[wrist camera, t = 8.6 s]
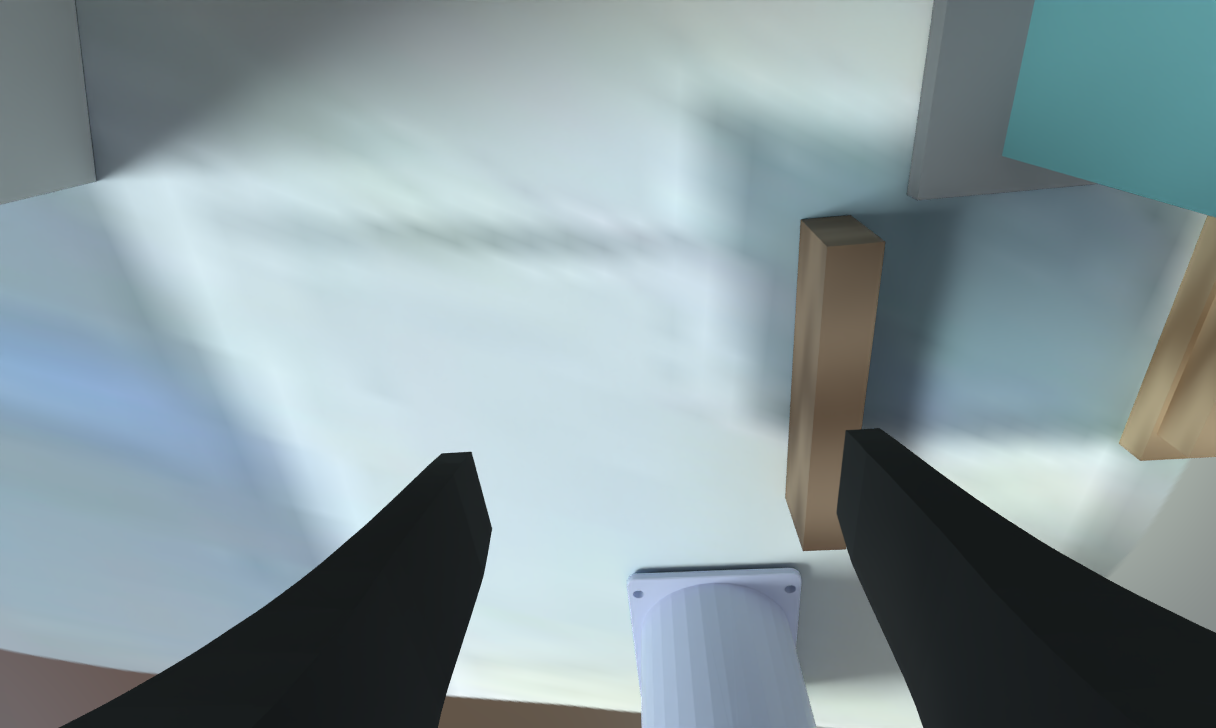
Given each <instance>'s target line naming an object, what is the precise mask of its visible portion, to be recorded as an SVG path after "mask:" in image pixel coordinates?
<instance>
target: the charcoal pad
mask: <svg viewBox="0 0 1216 728" xmlns="http://www.w3.org/2000/svg"><path fill="white" fill-rule="evenodd" d="M1034 2H1035V0H934V5H933V12H932V19H931V26H930V33H929V40H928V48H927V55H926V62H925V69H924V76H923V83H922V90H921V97H920V104H919V111H918V119H917V126H916V133H915V140H914V147H913V154H912V161H911V168H910V175H909V183H908V190H907V195H908V196H910V197H912V198H914V199H916V200H928V199H939V198H950V197H961V196H972V195H983V194H994V193H1005V192H1016V191H1027V190H1038V189H1049V188H1060V187H1071V186H1082V185H1093V184H1098V183H1094V182H1091V181H1087V180H1084V179H1081V178H1077V177H1074V176H1070V175H1067V174H1063V173H1060V172H1056V171H1053V170H1049V169H1046V168H1042V167H1039V166H1035V165H1032V164H1028V163H1025V162H1021V161H1018V160H1014V159H1011V158H1007V157H1004V156H1002V153H1003V148H1004V144H1005V139H1006V134H1007V129H1008V125H1009V120H1010V115H1011V110H1012V106H1013V101H1014V96H1015V91H1016V87H1017V82H1018V77H1019V73H1020V68H1021V63H1022V58H1023V54H1024V49H1025V44H1026V39H1027V35H1028V30H1029V25H1030V21H1031V16H1032V11H1033V6H1034Z"/></svg>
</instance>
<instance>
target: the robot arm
mask: <svg viewBox="0 0 1216 728" xmlns="http://www.w3.org/2000/svg"><path fill="white" fill-rule="evenodd" d="M836 514H837V517H838V520H839V524H840V527H841V531H842V534H843V537H844V541H845V544H846V547H847V550H848V553H849V556H850V559H851V562H852V564H853V567H854V569H855V571H856V574H857V576H858V578H859V580H860V582H861V585H862V587H863V589H864V591H865V594H866V596H867V598H868V600H869V602H870V605H871V607H872V609H873V611H874V613H875V615H876V618H877V620H878V622H879V624H880V626H881V628H882V631H883V633H884V635H885V637H886V639H887V641H888V644H889V646H890V648H891V650H892V652H893V655H894V657H895V659H896V661H897V663H898V665H899V668H900V670H901V672H902V674H903V676H904V679H905V681H906V683H907V686H908V688H909V691H910V693H911V696H912V698H913V700H914V703H915V705H916V708H917V711H918V714H919V717H920V720H921V722H922V725H923V728H1216V633H1215V632H1213V631H1211V630H1208V629H1206V628H1204V627H1202V626H1199V625H1198V624H1196V623H1193V622H1191V621H1189V620H1187V619H1185V618H1183V617H1181V616H1179V615H1177V614H1175V613H1173V612H1171V611H1169V610H1167V609H1165V608H1163V607H1161V606H1158V605H1157V604H1155V603H1153V602H1151V601H1148V600H1147V599H1145V598H1142V597H1140V596H1138V595H1137V594H1135V593H1133V592H1131V591H1129V590H1127V589H1125V588H1123V587H1121V586H1119V585H1117V584H1115V583H1114V582H1112V581H1110V580H1108V579H1106V578H1104V577H1103V576H1101V575H1099V574H1097V573H1095V572H1094V571H1092V570H1090V569H1088V568H1087V567H1085V566H1083V565H1081V564H1079V563H1078V562H1076V561H1074V560H1072V559H1070V558H1069V557H1067V556H1065V555H1063V554H1062V553H1060V552H1058V551H1057V550H1055V549H1053V548H1051V547H1050V546H1048V545H1046V544H1045V543H1043V542H1041V541H1040V540H1038V539H1037V538H1035V537H1033V536H1032V535H1030V534H1029V533H1027V532H1026V531H1024V530H1023V529H1021V528H1019V527H1018V526H1016V525H1015V524H1013V523H1012V522H1010V521H1008V520H1007V519H1005V518H1004V517H1002V516H1001V515H999V514H998V513H996V512H995V511H993V510H992V509H990V508H989V507H987V506H986V505H984V504H983V503H981V502H980V501H979V500H977V499H976V498H974V497H973V496H971V495H970V494H969V493H967V492H966V491H964V490H963V489H961V488H960V487H959V486H957V485H956V484H954V483H953V482H952V481H950V480H949V479H948V478H946V477H945V476H943V475H942V474H941V473H939V472H938V471H937V470H935V469H934V468H933V467H931V466H930V465H929V464H927V463H926V462H925V461H923V460H922V459H921V458H919V457H918V456H917V455H915V454H914V453H913V452H911V451H910V450H909V449H907V448H906V447H905V446H903V445H902V444H901V443H899V442H898V441H897V440H895V439H894V438H892V437H891V436H890V435H888V434H887V433H885V432H884V431H883V430H881V429H880V428H876V429H859V430H846V431H845V440H844V449H843V458H842V467H841V476H840V484H839V493H838V502H837V511H836ZM491 532H492V527H491V523H490V519H489V515H488V512H487V508H486V504H485V501H484V497H483V493H482V489H481V486H480V482H479V478H478V474H477V471H476V467H475V463H474V460H473V456H472V452H459V453H442V454H441V455H440V456H438V457H437V458H436V459H435V460H434V461H433V462H432V463H431V464H429V465H428V466H427V467H426V468H425V469H424V470H423V471H422V472H421V473H420V474H419V475H418V476H417V477H416V478H415V479H414V480H413V481H412V482H411V483H410V484H409V485H408V486H406V487H405V488H404V489H403V490H402V491H401V492H400V493H399V494H398V495H397V496H396V497H395V498H394V499H393V500H392V501H391V502H390V503H389V504H388V505H386V506H385V507H384V508H383V509H382V510H381V511H380V512H379V513H378V514H377V515H376V516H375V517H374V518H373V519H372V520H370V521H369V522H368V523H367V524H366V525H365V526H364V527H363V528H361V529H360V530H359V531H358V532H357V533H356V534H355V535H353V536H352V537H351V538H350V539H349V540H348V541H346V542H345V543H344V544H343V545H342V546H341V547H340V548H338V549H337V550H336V551H335V552H334V553H333V554H331V555H330V556H329V557H328V558H327V559H326V560H324V561H323V562H322V563H321V564H320V565H318V566H317V567H316V568H315V569H313V570H312V571H311V572H310V573H308V574H307V575H306V576H305V577H303V578H302V579H301V580H299V581H298V582H297V583H295V584H294V585H293V586H291V587H290V588H289V589H287V590H286V591H285V592H283V593H282V594H281V595H279V596H278V597H277V598H275V599H274V600H272V601H271V602H270V603H268V604H267V605H266V606H264V607H263V608H261V609H260V610H258V611H257V612H256V613H254V614H253V615H251V616H249V617H248V618H246V619H245V620H243V621H242V622H240V623H239V624H237V625H236V626H234V627H233V628H231V629H230V630H228V631H227V632H225V633H224V634H222V635H221V636H219V637H218V638H216V639H215V640H213V641H212V642H210V643H208V644H207V645H205V646H204V647H202V648H201V649H199V650H198V651H196V652H194V653H193V654H191V655H190V656H188V657H186V658H185V659H183V660H181V661H180V662H178V663H176V664H175V665H173V666H171V667H170V668H168V669H166V670H164V671H163V672H161V673H159V674H158V675H156V676H154V677H153V678H151V679H149V680H147V681H145V682H144V683H142V684H140V685H138V686H137V687H135V688H133V689H131V690H130V691H128V692H126V693H124V694H122V695H121V696H119V697H117V698H115V699H113V700H111V701H110V702H108V703H106V704H104V705H102V706H100V707H99V708H97V709H95V710H93V711H91V712H89V713H87V714H85V715H83V716H81V717H79V718H77V719H75V720H73V721H71V722H70V723H68V724H65V725H63V726H62V727H59V728H438V724H439V720H440V715H441V711H442V708H443V704H444V700H445V697H446V693H447V690H448V686H449V683H450V680H451V677H452V674H453V671H454V667H455V664H456V661H457V658H458V655H459V652H460V649H461V646H462V643H463V639H464V636H465V633H466V630H467V627H468V624H469V621H470V618H471V615H472V611H473V608H474V605H475V602H476V599H477V596H478V592H479V589H480V586H481V583H482V579H483V576H484V571H485V566H486V560H487V555H488V549H489V544H490V538H491ZM801 582H802V580H801V576H800V573H799V571H798V570H796V569H794V568H770V569H744V570H717V571H690V572H663V573H637V574H632V575H631V576H629V577H628V579H627V590H628V598H629V606H630V614H631V622H632V630H633V638H634V646H635V654H636V661H637V669H638V677H639V685H640V693H641V697H642V728H817V727H816V724H815V720H814V716H813V712H812V709H811V705H810V701H809V697H808V693H807V690H806V686H805V682H804V678H803V675H802V671H801V667H800V663H799V660H798V656H797V652H796V644H797V632H798V619H799V607H800V595H801ZM789 585H791V586H789Z"/></svg>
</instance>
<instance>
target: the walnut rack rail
mask: <svg viewBox="0 0 1216 728" xmlns="http://www.w3.org/2000/svg"><path fill="white" fill-rule="evenodd" d="M884 249H885V241H884V240H882V239H881V238H880V237H879V236H877V235H876V234H875V233H873V232H872V231H871V230H869V229H868V228H867V227H865V226H864V225H863V224H862V223H860V222H859V221H858V220H856V219H855V218H854V217H852V216H851V215H847V216H836V217H824V218H813V219H802V220H801V225H800V243H799V260H798V278H797V296H796V314H795V332H794V350H793V368H792V386H791V404H790V422H789V439H788V457H787V475H786V493H785V498H786V501H787V504H788V507H789V510H790V513H791V516H792V519H793V522H794V526H795V529H796V532H797V535H798V538H799V541H800V544H801V547H802V550H803V551H816V550H842V549H846V544H845V541H844V537H843V534H842V531H841V527H840V524H839V520H838V517H837V514H836V511H837V502H838V493H839V484H840V476H841V467H842V458H843V449H844V440H845V431H846V430H859V429H861V428H862V421H863V413H864V405H865V397H866V389H867V382H868V374H869V366H870V358H871V350H872V343H873V335H874V327H875V319H876V311H877V304H878V296H879V288H880V280H881V272H882V265H883V257H884Z"/></svg>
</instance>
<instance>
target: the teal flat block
mask: <svg viewBox="0 0 1216 728" xmlns="http://www.w3.org/2000/svg"><path fill="white" fill-rule="evenodd" d="M1002 156H1004V157H1007V158H1011V159H1014V160H1018V161H1021V162H1025V163H1028V164H1032V165H1035V166H1039V167H1042V168H1046V169H1049V170H1053V171H1056V172H1060V173H1063V174H1067V175H1070V176H1074V177H1077V178H1081V179H1084V180H1087V181H1091V182H1094V183H1098V184H1101V185H1105V186H1108V187H1112V188H1115V189H1119V190H1122V191H1126V192H1129V193H1133V194H1136V195H1140V196H1143V197H1147V198H1150V199H1154V200H1157V201H1161V202H1164V203H1168V204H1171V205H1174V206H1178V207H1181V208H1185V209H1188V210H1192V211H1195V212H1199V213H1202V214H1206V215H1209V216H1213V217H1216V0H1035V2H1034V6H1033V11H1032V16H1031V21H1030V25H1029V30H1028V35H1027V39H1026V44H1025V49H1024V54H1023V58H1022V63H1021V68H1020V73H1019V77H1018V82H1017V87H1016V91H1015V96H1014V101H1013V106H1012V110H1011V115H1010V120H1009V125H1008V129H1007V134H1006V139H1005V144H1004V148H1003V153H1002Z"/></svg>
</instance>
